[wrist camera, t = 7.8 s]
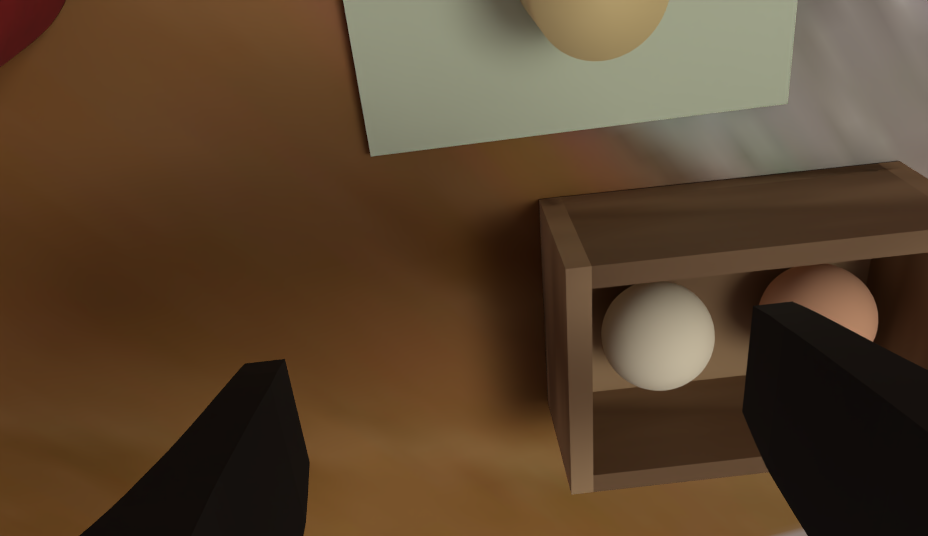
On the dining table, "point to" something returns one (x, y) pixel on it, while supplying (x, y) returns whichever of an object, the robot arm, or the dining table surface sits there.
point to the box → (711, 303)
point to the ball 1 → (658, 335)
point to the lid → (559, 65)
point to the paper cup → (24, 23)
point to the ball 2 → (827, 296)
